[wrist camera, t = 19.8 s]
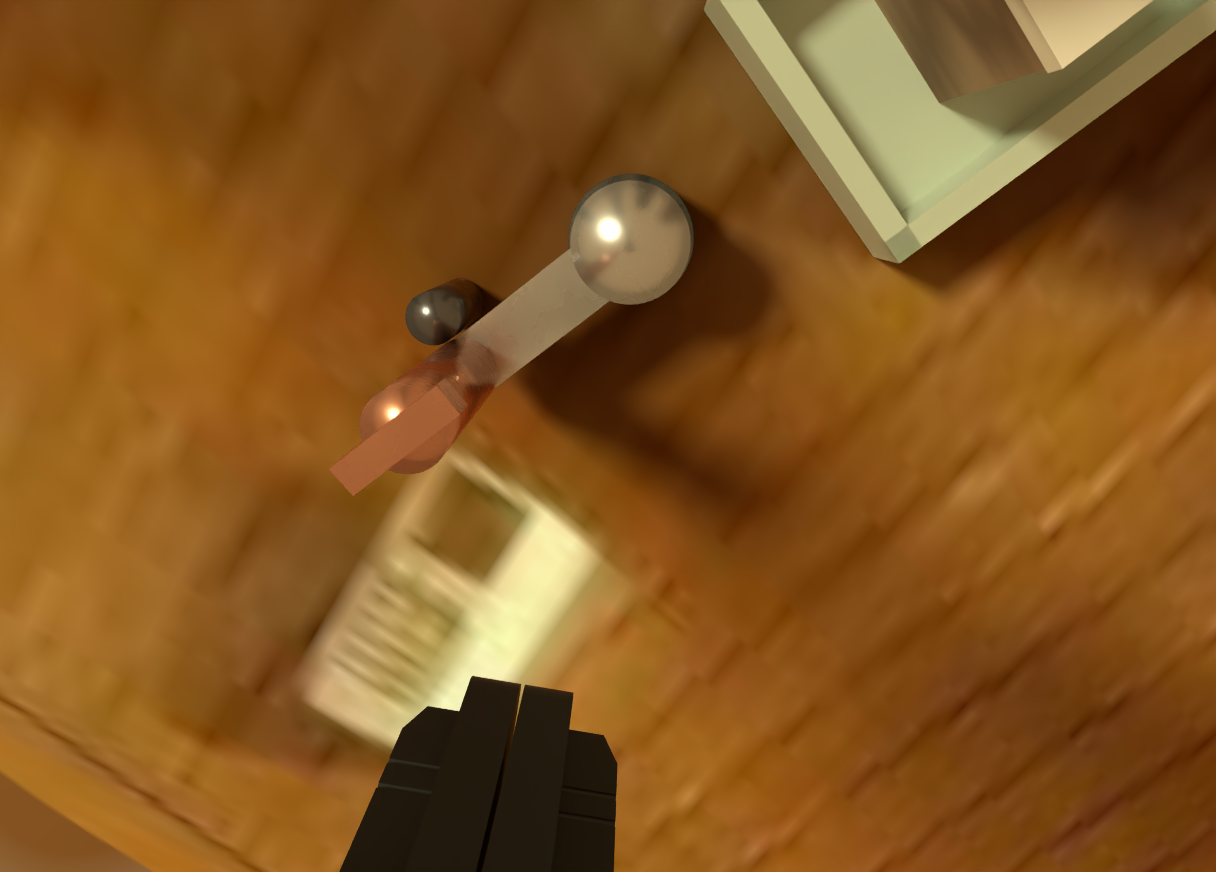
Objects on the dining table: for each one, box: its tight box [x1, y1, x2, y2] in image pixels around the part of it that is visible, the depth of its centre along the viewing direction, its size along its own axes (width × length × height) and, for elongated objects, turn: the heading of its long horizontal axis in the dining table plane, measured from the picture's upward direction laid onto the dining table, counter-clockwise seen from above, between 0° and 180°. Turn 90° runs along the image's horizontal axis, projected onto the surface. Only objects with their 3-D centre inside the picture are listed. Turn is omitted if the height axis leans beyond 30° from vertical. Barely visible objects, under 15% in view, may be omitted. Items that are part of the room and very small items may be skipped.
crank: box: [329, 180, 691, 496], centre depth 26 cm, size 12×4×11 cm, turn 127°
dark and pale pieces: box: [405, 174, 694, 345], centre depth 31 cm, size 6×16×5 cm, turn 129°
